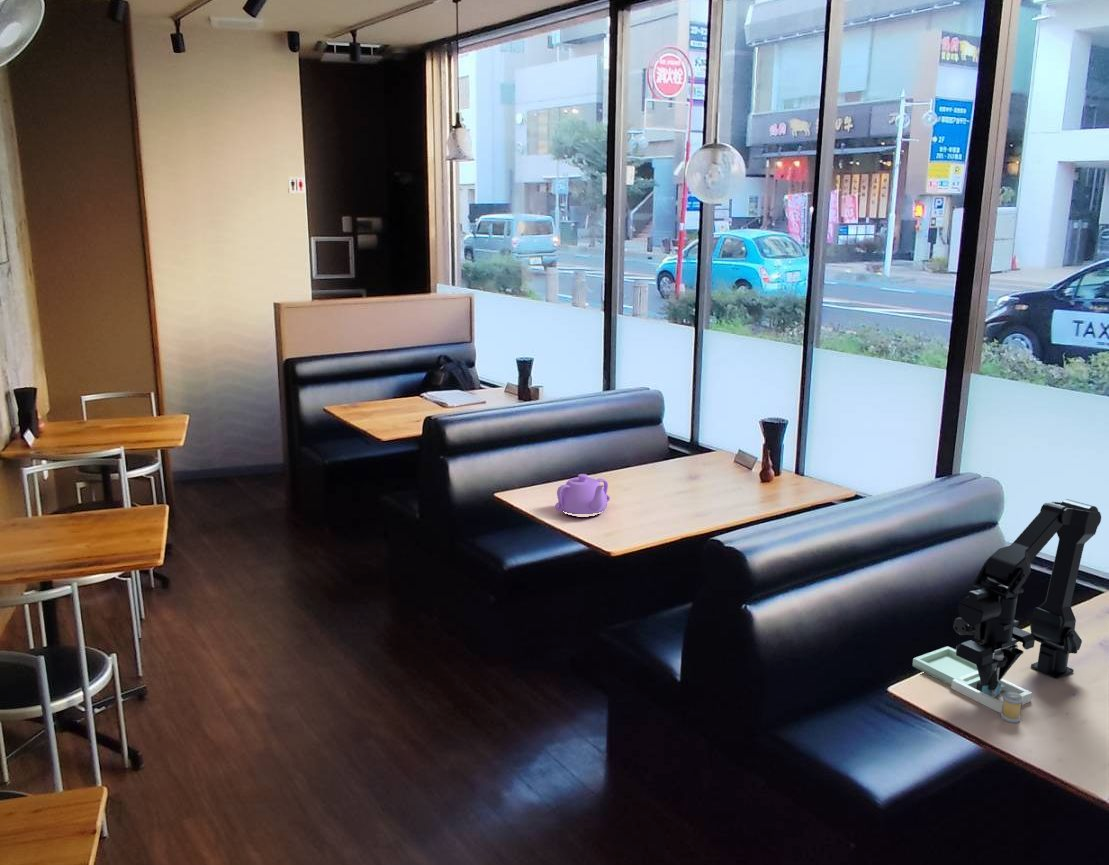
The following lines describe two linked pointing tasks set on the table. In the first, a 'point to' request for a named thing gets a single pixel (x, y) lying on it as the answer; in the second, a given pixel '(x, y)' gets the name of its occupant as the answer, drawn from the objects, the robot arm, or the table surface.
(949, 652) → the parts tray
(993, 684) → the push button
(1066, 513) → the robot arm
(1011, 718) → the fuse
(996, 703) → the pale rectangular frame
